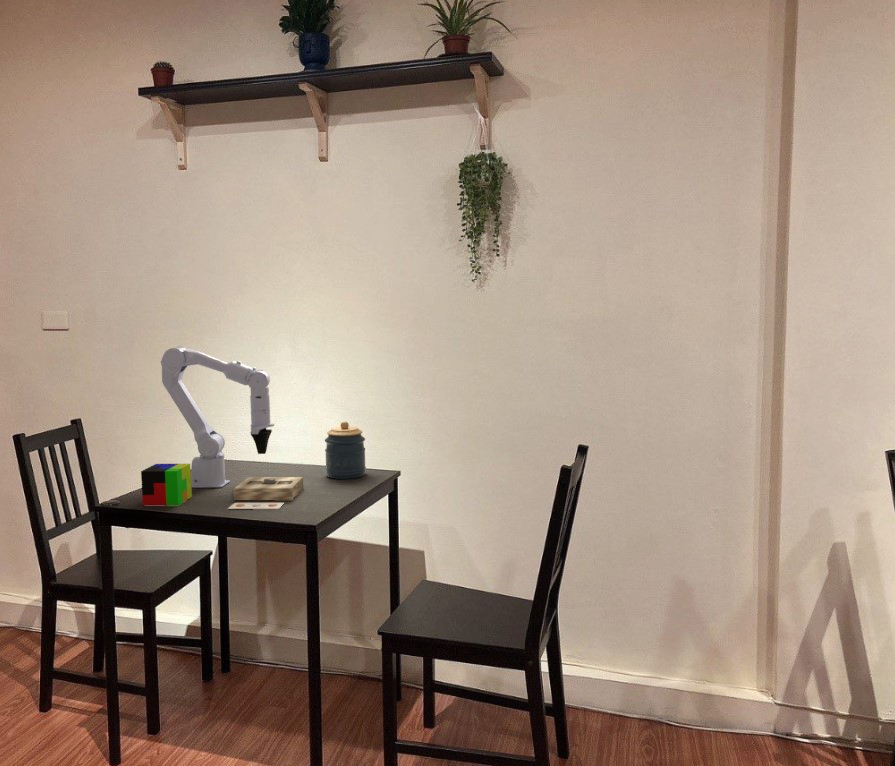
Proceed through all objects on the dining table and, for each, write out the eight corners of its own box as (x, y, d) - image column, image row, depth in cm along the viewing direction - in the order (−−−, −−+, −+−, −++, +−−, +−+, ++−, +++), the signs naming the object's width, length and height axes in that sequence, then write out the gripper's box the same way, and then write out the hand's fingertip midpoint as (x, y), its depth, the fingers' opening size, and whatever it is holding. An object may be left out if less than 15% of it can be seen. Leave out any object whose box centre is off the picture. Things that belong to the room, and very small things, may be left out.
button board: (234, 500, 215) (233, 488, 214) (249, 488, 229) (248, 477, 228) (292, 500, 214) (291, 488, 214) (303, 488, 228) (303, 477, 228)
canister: (359, 480, 238) (358, 424, 236) (320, 479, 240) (318, 424, 238) (370, 471, 251) (369, 418, 249) (333, 470, 253) (331, 418, 251)
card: (227, 509, 205) (227, 508, 205) (234, 503, 211) (234, 502, 211) (279, 509, 205) (278, 508, 205) (284, 503, 211) (284, 502, 211)
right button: (278, 491, 220) (277, 484, 219) (281, 488, 223) (280, 482, 223) (289, 491, 219) (288, 484, 219) (291, 488, 223) (291, 481, 222)
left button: (247, 491, 220) (247, 484, 220) (250, 488, 223) (250, 482, 223) (258, 491, 220) (258, 484, 220) (261, 488, 223) (261, 482, 223)
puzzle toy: (157, 497, 220) (156, 463, 219) (191, 497, 219) (190, 463, 218) (142, 506, 210) (141, 471, 209) (178, 506, 209) (176, 471, 208)
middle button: (262, 487, 220) (262, 480, 219) (265, 484, 223) (265, 478, 223) (273, 487, 220) (273, 480, 219) (276, 484, 223) (276, 478, 223)
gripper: (266, 413, 226) (268, 458, 227) (279, 406, 240) (280, 449, 242) (243, 413, 226) (245, 458, 228) (257, 406, 241) (258, 449, 242)
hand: (262, 453), depth 235 cm, fingers closed
